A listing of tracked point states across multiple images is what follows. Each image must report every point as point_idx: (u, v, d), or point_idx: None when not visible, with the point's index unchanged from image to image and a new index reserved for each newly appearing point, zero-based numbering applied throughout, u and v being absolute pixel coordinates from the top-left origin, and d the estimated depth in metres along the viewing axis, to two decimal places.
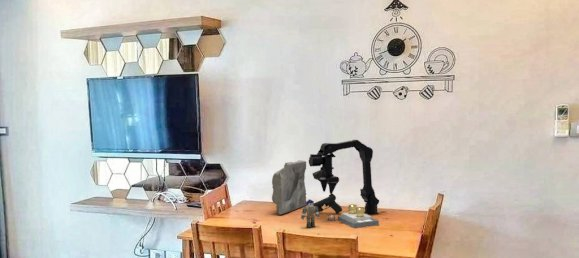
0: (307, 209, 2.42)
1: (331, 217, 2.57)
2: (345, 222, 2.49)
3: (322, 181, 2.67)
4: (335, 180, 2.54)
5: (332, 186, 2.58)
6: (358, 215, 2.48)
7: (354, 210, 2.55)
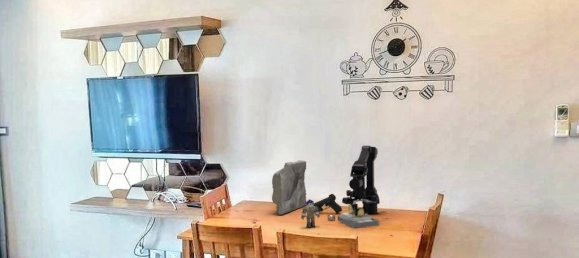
0: (307, 209, 2.42)
1: (331, 217, 2.57)
2: (345, 222, 2.49)
3: (363, 204, 2.51)
4: (344, 201, 2.45)
5: (354, 208, 2.48)
6: (358, 215, 2.48)
7: None
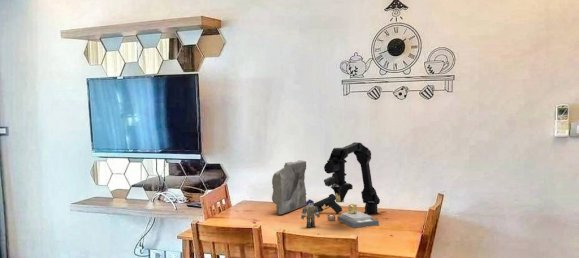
0: (307, 209, 2.42)
1: (331, 217, 2.57)
2: (345, 222, 2.49)
3: (335, 189, 2.49)
4: (348, 187, 2.38)
5: (343, 193, 2.43)
6: (343, 200, 2.46)
7: (354, 210, 2.55)
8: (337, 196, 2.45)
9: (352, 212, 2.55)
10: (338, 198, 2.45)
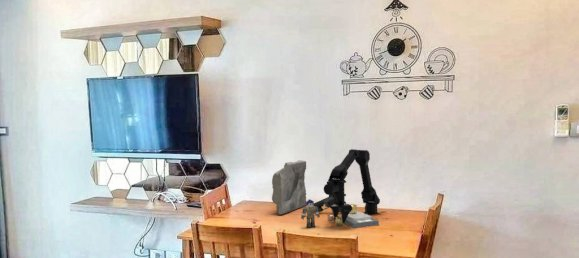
0: (307, 209, 2.42)
1: (331, 217, 2.57)
2: (345, 222, 2.49)
3: (333, 208, 2.51)
4: (348, 208, 2.38)
5: (345, 214, 2.42)
6: (343, 224, 2.46)
7: (354, 210, 2.55)
8: (337, 220, 2.46)
9: (352, 212, 2.55)
10: (338, 222, 2.45)
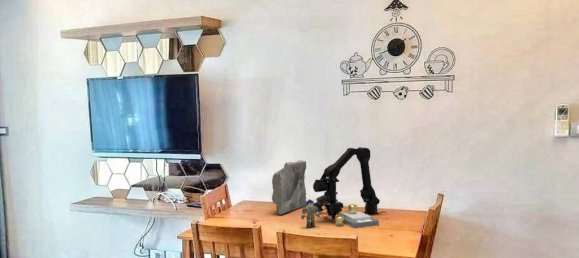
0: (307, 209, 2.42)
1: (331, 217, 2.57)
2: (345, 222, 2.49)
3: (327, 206, 2.61)
4: (339, 206, 2.50)
5: (334, 211, 2.55)
6: (343, 223, 2.46)
7: (354, 210, 2.55)
8: (337, 220, 2.46)
9: (352, 212, 2.55)
10: (338, 222, 2.45)
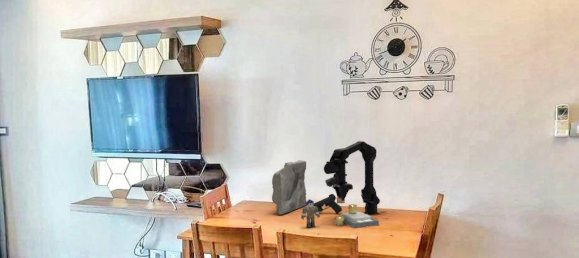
0: (307, 209, 2.42)
1: (340, 199, 2.53)
2: (345, 222, 2.49)
3: (337, 189, 2.57)
4: (349, 188, 2.46)
5: (344, 193, 2.52)
6: (343, 223, 2.46)
7: (354, 210, 2.55)
8: (338, 220, 2.45)
9: (352, 212, 2.55)
10: (338, 222, 2.45)
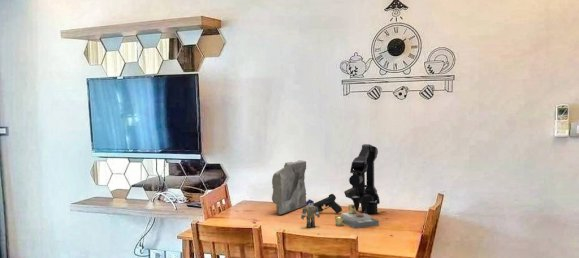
0: (307, 209, 2.42)
1: (360, 213, 2.47)
2: (345, 222, 2.49)
3: (355, 200, 2.52)
4: (369, 199, 2.41)
5: (364, 205, 2.45)
6: (343, 223, 2.47)
7: (354, 210, 2.55)
8: (338, 220, 2.45)
9: (352, 212, 2.55)
10: (339, 222, 2.45)
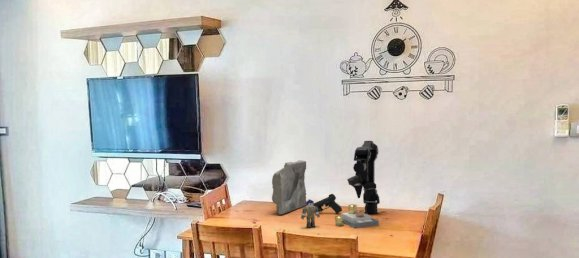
0: (307, 209, 2.42)
1: (360, 213, 2.47)
2: (345, 222, 2.49)
3: (357, 187, 2.54)
4: (372, 186, 2.41)
5: (369, 193, 2.44)
6: None
7: (354, 210, 2.55)
8: (339, 219, 2.45)
9: (352, 212, 2.55)
10: (340, 221, 2.45)
